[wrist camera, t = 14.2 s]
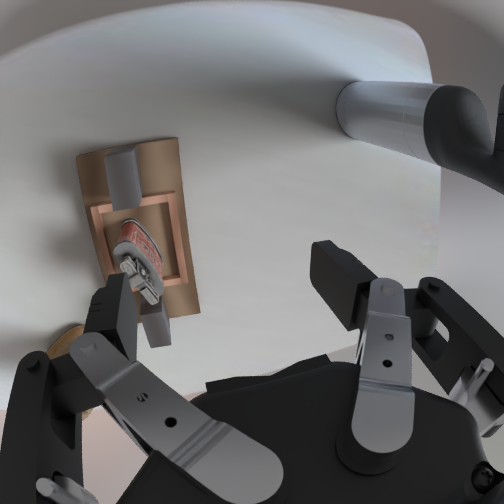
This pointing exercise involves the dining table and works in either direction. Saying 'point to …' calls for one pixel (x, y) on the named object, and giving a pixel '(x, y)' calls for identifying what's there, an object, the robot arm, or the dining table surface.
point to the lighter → (140, 259)
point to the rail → (143, 222)
